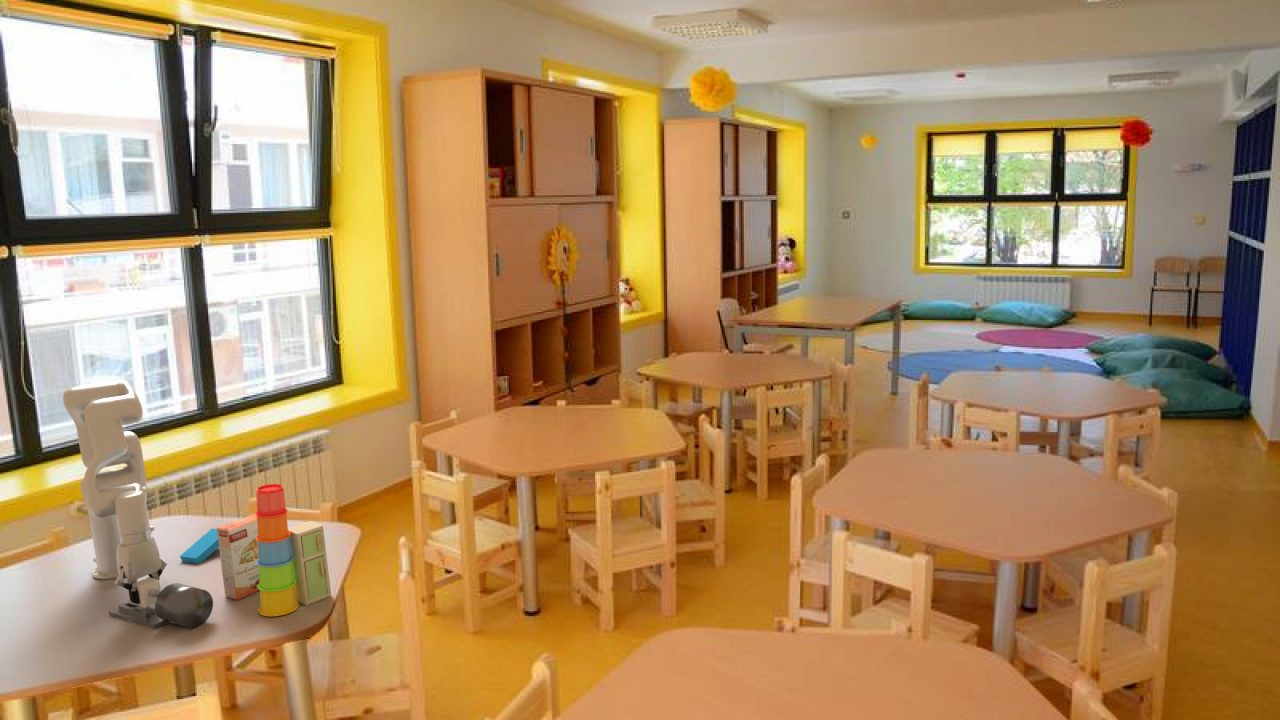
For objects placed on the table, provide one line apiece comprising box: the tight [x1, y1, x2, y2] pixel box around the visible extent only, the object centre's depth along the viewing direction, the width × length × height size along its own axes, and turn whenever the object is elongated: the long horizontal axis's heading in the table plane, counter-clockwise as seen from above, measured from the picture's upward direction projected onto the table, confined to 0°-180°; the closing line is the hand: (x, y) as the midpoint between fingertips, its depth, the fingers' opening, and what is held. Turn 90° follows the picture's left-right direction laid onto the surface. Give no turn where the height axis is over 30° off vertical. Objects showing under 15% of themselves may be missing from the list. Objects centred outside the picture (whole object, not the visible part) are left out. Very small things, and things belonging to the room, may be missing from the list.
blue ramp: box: [179, 528, 219, 564], centre depth 308 cm, size 7×7×18 cm
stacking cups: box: [254, 483, 300, 617], centre depth 260 cm, size 10×10×35 cm
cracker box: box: [216, 513, 260, 601], centre depth 275 cm, size 14×6×21 cm, turn 148°
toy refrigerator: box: [288, 520, 332, 606], centre depth 267 cm, size 8×7×21 cm
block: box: [127, 575, 162, 608], centre depth 265 cm, size 9×5×6 cm, turn 61°
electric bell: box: [108, 582, 214, 630], centre depth 262 cm, size 30×12×10 cm, turn 61°
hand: (145, 598), depth 266 cm, fingers closed on block, 4 cm apart
